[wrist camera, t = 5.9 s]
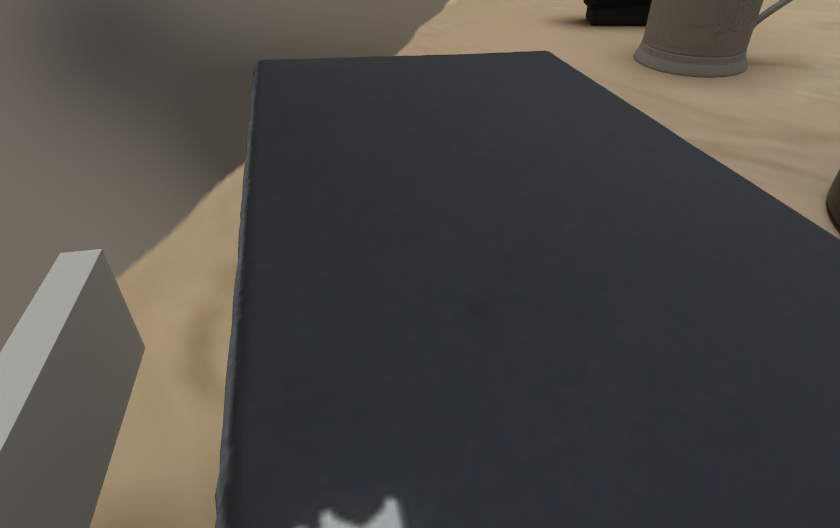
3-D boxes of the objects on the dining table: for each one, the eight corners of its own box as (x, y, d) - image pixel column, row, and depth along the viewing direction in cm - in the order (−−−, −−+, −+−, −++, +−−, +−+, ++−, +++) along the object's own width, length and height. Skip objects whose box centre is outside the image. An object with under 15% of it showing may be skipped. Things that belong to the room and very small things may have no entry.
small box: (730, 834, 9) (1389, 511, 3) (350, 974, 8) (87, 937, 2) (511, 374, 17) (559, 32, 11) (308, 411, 16) (235, 53, 10)
